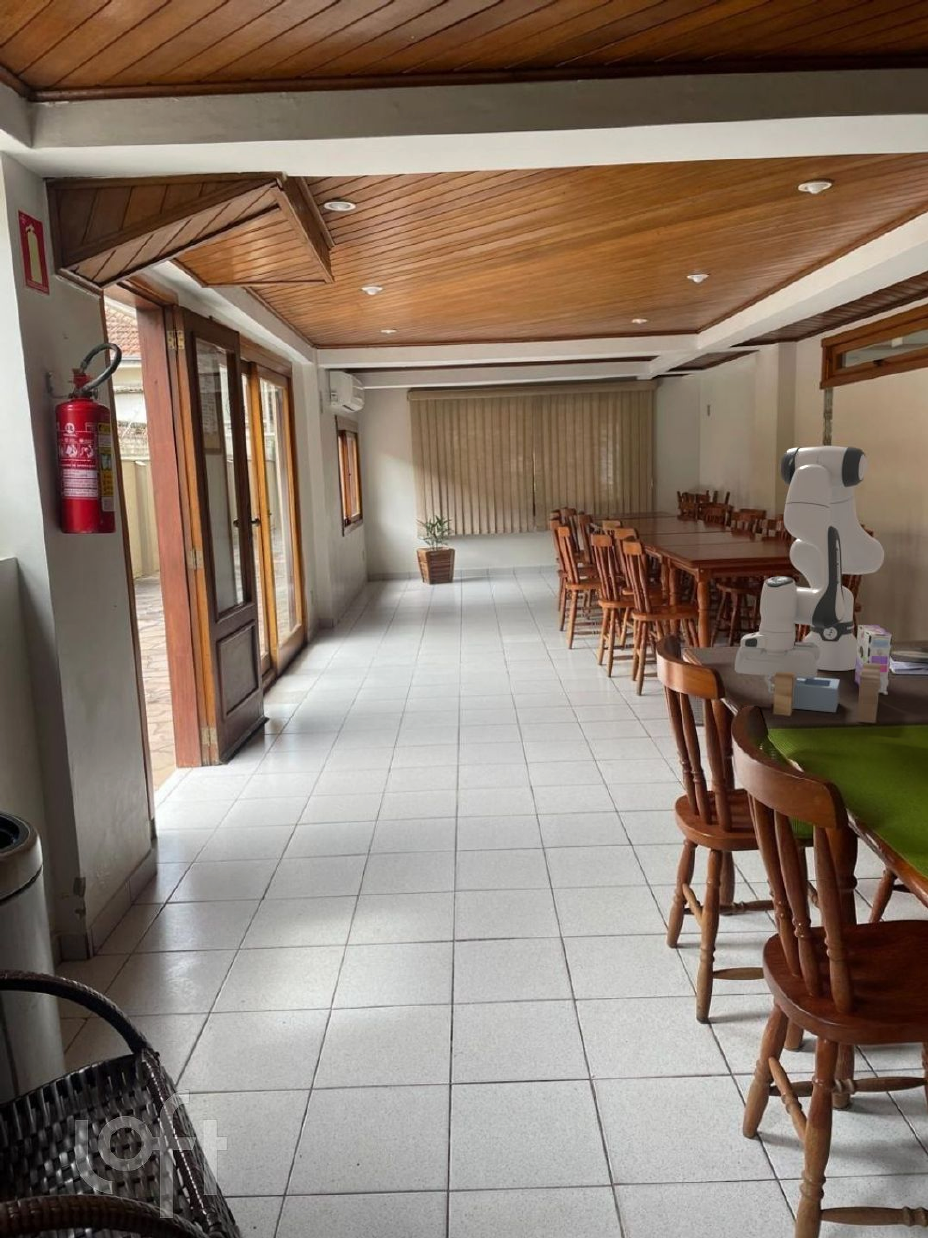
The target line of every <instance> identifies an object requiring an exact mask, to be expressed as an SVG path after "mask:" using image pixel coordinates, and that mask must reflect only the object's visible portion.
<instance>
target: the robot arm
mask: <svg viewBox="0 0 928 1238" xmlns="http://www.w3.org/2000/svg"><path fill="white" fill-rule="evenodd" d="M779 469H780V476H781V479H782V480H783V481H784V483H785V484H786V485H789V486H788V490H787V495H786V498H785V505H784V511H783V525H784V527H785V529H786V530H787V532H788V533H789V534H790V535H791V536H792V537H794V538H796V539H795V541H794V542H793V543H792V544H791V547H790V549H789V560H790V562H791V564H792V565H793V567H794V568H795V569H796V570H797V571H799V572H800V573H801V574H802V575H803V576H804V578H805V579H806V581H807V582H808V584H809V587H802V586H798V585H796V582H795V580H794V579H793V578H792V577H789V576H782V575H781V576H773V577H770V578H767V579H765V581H764V583H763V586H762V590H761V596H760V603H759V604H760V605H759V614H760V625H759V628H758V629H759V631H756V632H753V633H746V634H744V635H743V637H741V639H740V647H739V648H738V650H737V651H736V656H735V661H734V670H735V672H736V673H738V674H745V675H746V674H747V675H758V676H759V675H760V676H764V679H763V680H764V681H765V683H766V684H767V686H768V689H767V690H768V692H769V693H774V688H775V683H774V684H772V681H771V678H772V677H775V674H776V673H777V671H778V672H790V673H794V679H797V678H803V679H814V678H815V677H816V678H817V675H818V670H823V671H830V672H831V671H833V672H834V671H836V672H837V671H839V672H842V671H850V670H852V671H853V670H856V651H857V637H855V635H854V634H853V633H854V632H855V631H854V628H855V621H854V618H853V617H854V602H855V601H854V600H855V599H854V595H853V593H852V591H851V590H850V589H849V588H847V587H845V586H844V585H843V575H866V574H872V573H876V572H877V571H878V570H879V569H881V566H882V565H883V563H884V559H885V551H884V548H883V544H881V543H880V541H879V540H878V539H876V538H874V537H873V536H871V535H870V534H869V533H867V531H866V530H865V529H864V528H863V527H862V525H861V523H860V521H859V519H858V516H857V510H856V497H855V495H856V494H855V493H856V492H855V486H858V485H859V484H861V482H863V480H864V478H865V476H866V473H867V469H868V460H867V456H866V453H865V452H864V451H863V450H862V449H861V448H858V447H854V446H848V447H846V446H845V447H844V446H838V445H837V446H836V445H835V446H834V445H823V446H822V445H821V446H807V447H806V446H805V447H802V446H798V447H792V448H788V449H787V450H786V451H785V452H784V454H783V455H782V458H781V462H780V468H779ZM795 624H797V625H804V626H805V625H806V626H810V627H809V629H810V632H809V633H808V634H807V635H806V636H805V637H804V641H796V625H795Z"/></svg>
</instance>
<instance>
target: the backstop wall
mask: <svg viewBox="0 0 928 1238" xmlns="http://www.w3.org/2000/svg"><path fill="white" fill-rule="evenodd" d="M879 680H880V664H878V663H865V662H864V663H863V668H862V673H861V677H860V685H858V691H859V692H858V702H857V703H858V705H857V719H856V721H857V722H860V723H862V722H863V723H868V724H869V723H872V724H876V722H877V713H878V704H879V696H880V694H879Z"/></svg>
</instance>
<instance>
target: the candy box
mask: <svg viewBox="0 0 928 1238" xmlns="http://www.w3.org/2000/svg"><path fill="white" fill-rule="evenodd" d="M856 633H857V635H856V639H857V651H856V669H854V670H855V672H854V673H855V674H854V682H855V683H856V685H857V686H859V685H860V677H861V673H862V668H863V663H864V662H865V663H878V664H880V680H879V695H886V696H887V695H888V694H889V681H890V667H891V654H892V653H891V652H892V639H893V635H892V634H891V633H890V632H888V631H887V630H886V629H884V628H883V627H881V625H880V624H879V625H878V624H858V625H857V632H856Z"/></svg>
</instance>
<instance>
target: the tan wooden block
mask: <svg viewBox="0 0 928 1238" xmlns="http://www.w3.org/2000/svg"><path fill="white" fill-rule="evenodd" d="M794 681H795V678H794V673H790V672H778V671H777V673H776V674H775V676H774V685H775V688H774V692H773V693H774V694H773V695H774V696H773V711H772V712H773V715H779V716H790V717H791V716H792V713H793V701H794V684H795V683H794Z"/></svg>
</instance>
